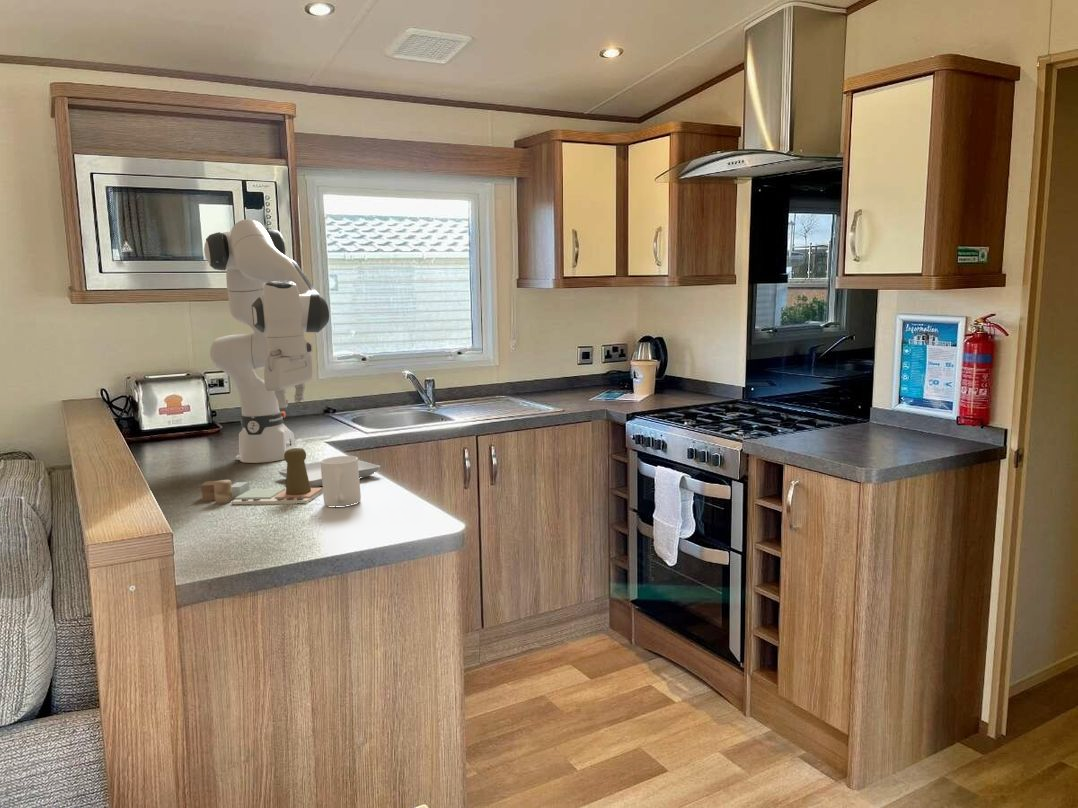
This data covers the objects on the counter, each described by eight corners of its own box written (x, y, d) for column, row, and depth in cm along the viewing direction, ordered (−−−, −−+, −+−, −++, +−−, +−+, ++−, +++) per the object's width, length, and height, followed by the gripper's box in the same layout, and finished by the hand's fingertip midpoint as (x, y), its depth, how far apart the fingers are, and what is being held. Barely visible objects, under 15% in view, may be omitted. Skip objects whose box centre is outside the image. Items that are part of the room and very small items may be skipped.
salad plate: (276, 480, 220) (275, 468, 219) (347, 467, 233) (346, 455, 233) (309, 493, 204) (308, 480, 203) (383, 478, 217) (382, 465, 216)
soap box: (238, 493, 206) (237, 482, 206) (249, 493, 206) (248, 482, 205) (229, 498, 201) (228, 487, 201) (240, 498, 201) (239, 486, 200)
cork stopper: (224, 498, 200) (223, 479, 199) (236, 500, 198) (234, 480, 197) (211, 502, 197) (210, 483, 196) (223, 504, 195) (221, 484, 194)
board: (252, 493, 205) (251, 488, 205) (323, 491, 203) (323, 487, 203) (231, 504, 194) (231, 500, 194) (306, 503, 192) (306, 498, 192)
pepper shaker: (316, 490, 199) (312, 447, 198) (296, 496, 195) (292, 452, 193) (300, 488, 203) (297, 445, 201) (280, 493, 198) (276, 450, 197)
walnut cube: (206, 497, 204) (205, 481, 203) (223, 495, 204) (221, 480, 204) (202, 501, 200) (201, 485, 199) (219, 499, 200) (217, 484, 200)
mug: (319, 513, 183) (316, 467, 181) (326, 500, 194) (322, 457, 193) (358, 510, 184) (354, 465, 182) (362, 497, 195) (359, 454, 194)
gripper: (280, 351, 183) (286, 411, 185) (314, 344, 203) (319, 398, 205) (254, 352, 184) (260, 411, 186) (290, 345, 204) (295, 398, 206)
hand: (291, 404), depth 196 cm, fingers open, 8 cm apart
